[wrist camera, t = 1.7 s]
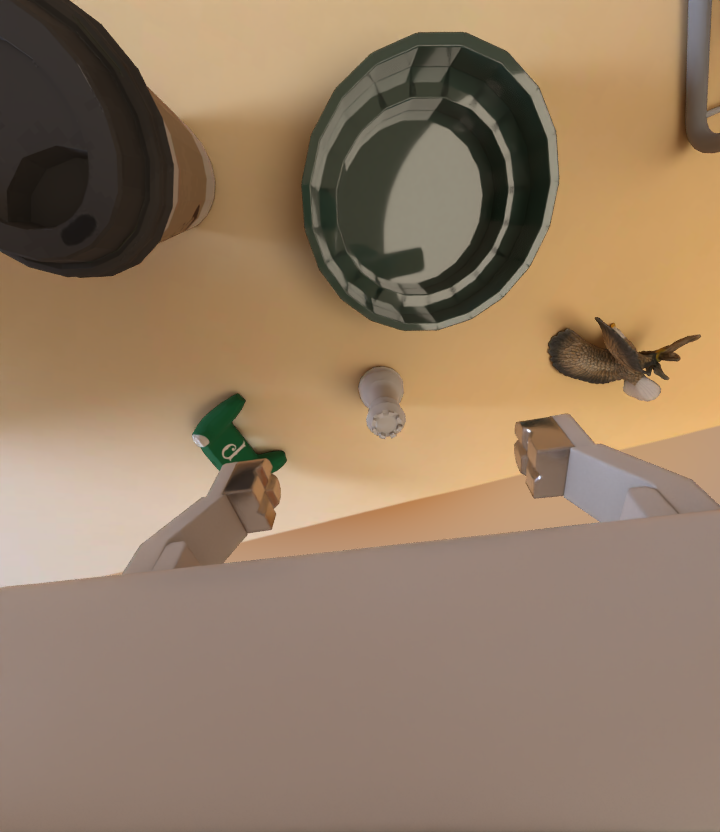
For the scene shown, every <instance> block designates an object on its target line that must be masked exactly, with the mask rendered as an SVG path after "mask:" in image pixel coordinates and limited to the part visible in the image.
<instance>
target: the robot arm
mask: <svg viewBox="0 0 720 832" xmlns="http://www.w3.org/2000/svg"><path fill="white" fill-rule="evenodd" d="M515 434H516V436H517V438H518V440H517V442H516V443H515V444H514V453H515V459H516V463H517V466H518V468H519V471H520V473H522V474H524V475H525V476H526V484H527V486H528V488H529V490H530V492H531V494H532V496H533V498H545V497H555V496H564V498H566V499H567V500H569V501H570V502H572V503H573V504H575V505H576V506H578V507H579V508H580V509H582V510H584V511H585V512H586V513H588V514H589V515H591V516H592V517H594V518H595V519H597V520H598V521H599V523H591V524H582V525H572V526H564V527H554V528H545V529H536V530H527V531H518V532H508V533H500V534H490V535H481V536H471V537H462V538H452V539H443V540H434V541H425V542H416V543H406V544H397V545H389V546H379V547H370V548H361V549H352V550H343V551H334V552H324V553H316V554H307V555H297V556H288V557H278V558H270V559H260V560H251V561H241V562H232V563H224V562H225V560H226V559H227V558H228V557H229V556H230V555H231V553H232V552H233V551H234V550H235V549H236V548H237V546H238V545H239V544H240V543H241V542H242V540H243V539H244V538H245V537H246V536H247V533H253V532H260V531H266V530H272V526H273V523H274V520H275V516H276V513H275V511H274V508H275V507H276V506H277V505H278V504H279V502H280V498H281V488H280V483H279V481H278V478H277V477H276V476H275V475H273V474H272V473H271V471H272V468H273V467H272V465H271V462H270V460H269V459H267V458H264V459H256V460H248V461H240V462H233V463H226V464H224V465H223V466H222V467H221V469H220V471H219V473H218V475H217V477H216V479H215V481H214V483H213V485H212V487H211V488H210V490H209V492H208V494H207V496H206V497H202V498H201V499H199V500H198V501H197V502H195V503H194V504H193V505H191V506H190V507H189V508H188V509H186V510H185V511H184V512H182V513H181V514H180V515H179V516H177V517H176V518H175V519H173V520H172V521H171V522H169V523H168V524H167V525H166V526H164V527H163V528H162V529H160V530H159V531H158V532H157V533H155V534H154V535H153V536H151V537H150V538H149V539H147V540H146V541H145V542H144V543H142V544H141V545H140V546H139V548H138V549H137V551H136V553H135V554H134V556H133V557H132V559H131V560H130V562H129V564H128V565H127V567H126V568H125V570H124V571H123V573H122V574H121V575H112V576H102V577H93V578H84V579H75V580H65V581H56V582H47V583H38V584H27V585H17V586H7V587H2V588H0V832H720V505H719V504H717V503H716V502H715V501H714V500H713V499H712V498H711V497H710V496H709V495H708V494H707V493H706V492H705V491H704V490H702V489H701V488H700V487H699V486H698V485H697V484H696V483H695V482H694V481H693V480H691V479H689V478H686V477H684V476H681V475H679V474H676V473H674V472H671V471H669V470H666V469H664V468H661V467H659V466H656V465H654V464H651V463H648V462H646V461H643V460H641V459H638V458H636V457H633V456H631V455H628V454H626V453H623V452H621V451H618V450H616V449H613V448H611V447H608V446H605V445H603V444H595V443H594V442H593V441H592V439H591V438H590V437H589V436H588V435H587V434H586V433H585V431H584V430H583V429H582V428H581V427H580V426H579V424H578V423H577V422H576V421H575V420H574V419H573V418H572V416H571V415H569V414H561V415H555V416H550V417H546V418H540V419H533V420H526V421H520V422H516V425H515Z"/></svg>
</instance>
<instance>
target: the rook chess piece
mask: <svg viewBox="0 0 720 832" xmlns="http://www.w3.org/2000/svg"><path fill="white" fill-rule="evenodd" d="M358 387H359V395H360V398H361V400H362V402H363V403H364V405H365V406H366V407H368V408H369V410H368V415H367V418H366V421H367V426H368V428H369V429H370V431H371V432H373V433H374V434H376V435H378V436H379V438H382V439H385V437H388V436H391V438H393V437H396V434H397V433H399V432H401V429H402V428H403V427H404V424H405V422H406V418H405V413H404V411H403V410H402V408H401V407H400V405H399V403H400V402H401V399H402V397H403V394H404V388H403V381H402V379H401V377H400V375H399V374H398V373H397V372H396V371H394V370H393V369H391V368H387V367H375V368H373V369H371V370H369V371H367V372H366V373H365V374H364V375H363V376H362V378H361V379H360V383H359V386H358Z"/></svg>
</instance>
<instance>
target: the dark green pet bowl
mask: <svg viewBox="0 0 720 832" xmlns="http://www.w3.org/2000/svg"><path fill="white" fill-rule="evenodd" d="M558 185H559V167H558V151H557V135H556V130H555V127H554V125H553V122H552V119H551V117H550V114H549V112H548V109H547V107H546V104H545V101H544V99H543V96H542V94H541V91H540V88H538V85H537V84H536V83H535V82H534V81H533V80H532V79H531V78H530V76H529V75H528V74H527V73H526V72H525V71H524V70H523V69H522V67H521V66H520V65H519V64H518V63H517V62H516V61H515V59H514V58H513V57H512V56H511V55H510V54H509V53H508V52H507V51H505V50H503V49H501V48H499V47H497V46H494V45H492V44H490V43H488V42H486V41H484V40H481V39H479V38H477V37H475V36H473V35H471V34H468V33H466V32H465V33H464V32H418V33H415V34H412V35H410V36H408V37H406V38H403V39H401V40H399V41H397V42H394V43H392V44H390V45H388V46H385V47H383V48H381V49H379V50H376V51H374V52H373V53H371V54H370V55H369V56H368V57H367V58H366V59H365V60H364V61H363V62H362V63H361V64H360V65H359V66H358V67H357V68H356V69H355V70H353V71H352V72H351V73H350V74H349V75H348V76H347V77H346V78H345V79H344V80H343V81H342V82H341V83H340V84H339V85H338V86H337V87H336V89H335V90H334V92H333V94H332V95H331V97H330V99H329V101H328V103H327V105H326V107H325V109H324V111H323V113H322V115H321V116H320V118H319V120H318V122H317V124H316V126H315V128H314V130H313V132H312V134H311V137H310V142H309V147H308V152H307V157H306V162H305V167H304V172H303V177H302V184H301V188H302V202H303V215H304V228H305V232H306V235H307V238H308V240H309V243H310V246H311V249H312V251H313V254H314V257H315V260H316V262H317V265H318V268H319V270H320V271H321V273H322V274H323V275H324V277H325V278H326V279H327V281H328V282H329V283H330V285H331V286H332V287H333V289H334V290H335V291H336V293H337V294H338V295H339V297H340V298H341V299H342V300H343V301H344V302H346V303H347V304H348V305H350V306H351V307H352V308H354V309H355V310H357V311H358V312H359V313H361V314H362V315H364V316H365V317H366V318H368V319H369V320H371V321H374V322H377V323H380V324H383V325H386V326H389V327H393V328H396V329H399V330H402V331H424V330H440V329H443V328H446V327H449V326H452V325H455V324H458V323H461V322H464V321H468V320H470V319H472V318H474V317H475V316H477V315H478V314H480V313H481V312H483V311H484V310H486V309H487V308H489V307H490V306H492V305H493V304H495V303H496V302H498V301H499V300H500V299H502V298H503V297H504V296H505V295H506V294H507V293H508V291H509V290H510V289H511V288H512V287H513V286H514V284H515V283H516V282H517V281H518V280H519V279H520V278H521V276H522V275H523V274H524V273H525V272H526V271H527V269H528V268H529V266H530V265H531V263H532V261H533V259H534V257H535V255H536V253H537V251H538V249H539V247H540V245H541V243H542V241H543V239H544V237H545V235H546V233H547V231H548V229H549V226H550V223H551V218H552V214H553V209H554V204H555V199H556V195H557V190H558Z"/></svg>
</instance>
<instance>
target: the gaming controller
mask: <svg viewBox="0 0 720 832" xmlns="http://www.w3.org/2000/svg"><path fill="white" fill-rule="evenodd" d="M245 401H246V400H245V399H244V398H242V397H241V396H240V395H239V394H235V395H233V396H231V397H230V398H228V399H227V400H225V401H223V402H222V403H221V404H219V405H218V406H217V407H215V408H214V409H213V410H211V411H210V412H209V413H208V414H207V415H206V416H205V417H204V418H203V419H202V420H201V421H200V423H199V424H198V425H197V427H196V429H195V430H194V432H193V434H192V438H193V441H194V442H195V444H196V445H197V446H198V447H201V449H202V451H203V452H204V454H205V455H206V456H207V457H208V459H209V460H210V461H211V462H212V463H213V465H214V466H215V467H216V468H217V469H218V470H219V471H220V469H221V467H222V466H223V465H224V464H226V463H233V462H240V461H248V460H256V459H264V458H267V459H269V460H270V462H271V465H272V467H273V468H272V471H271V473H273V472H275V471H277V470H279V469H280V468H281V467H282V466H283V465H284V464H285V463H286V461H287V458H286V456H285V453H284V452H283V451H273V452H268V453H264V454H256V453H255V452H254V450H253V449H252V448H251V446H250V445H249V444H248V443H247V441H246V440H245V439H244V437H243V436H242V435H241V434H240V432H239V431H238V430H237V429H236V427H235V426H234V425H233V423H232V421H233V420H234V419H235V418H236V417H237V415H238V414H239V413H240V411H241V410H242V408H243V406H244V403H245Z"/></svg>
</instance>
